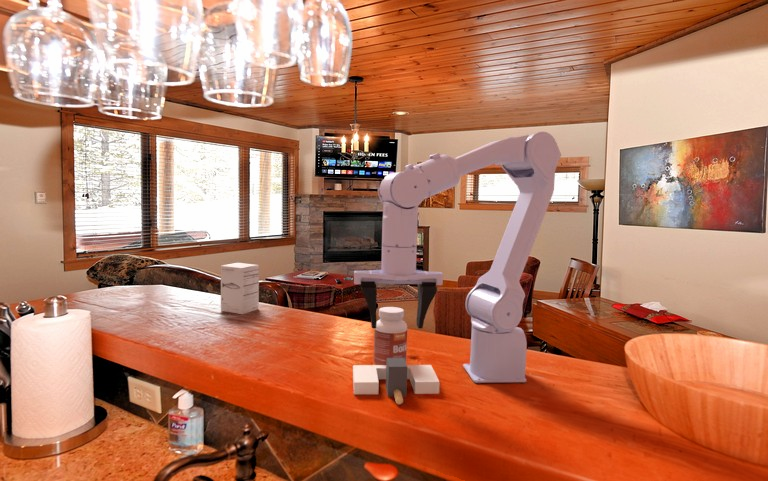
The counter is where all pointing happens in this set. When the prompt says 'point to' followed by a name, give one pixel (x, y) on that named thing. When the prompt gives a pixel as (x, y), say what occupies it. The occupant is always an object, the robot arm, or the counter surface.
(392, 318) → the pill bottle
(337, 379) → the counter surface
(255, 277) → the supplement box
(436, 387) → the notched board
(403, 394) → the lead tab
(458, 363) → the counter surface
